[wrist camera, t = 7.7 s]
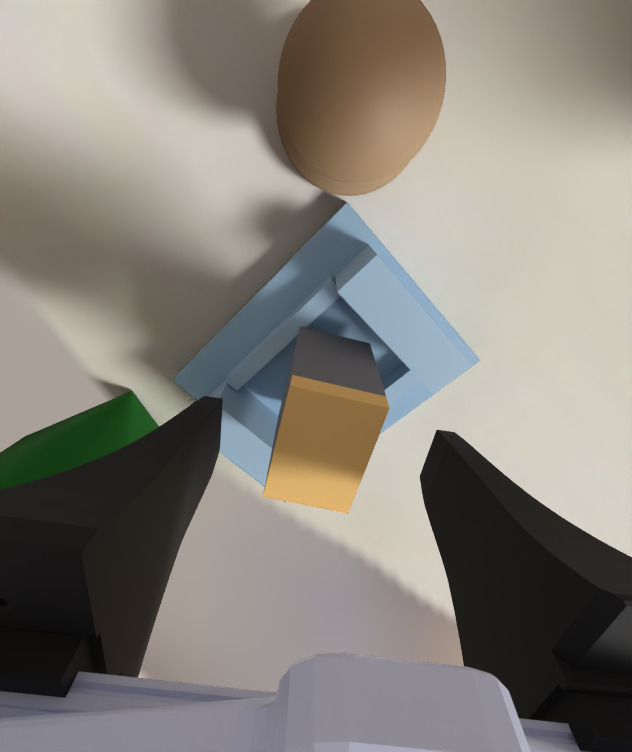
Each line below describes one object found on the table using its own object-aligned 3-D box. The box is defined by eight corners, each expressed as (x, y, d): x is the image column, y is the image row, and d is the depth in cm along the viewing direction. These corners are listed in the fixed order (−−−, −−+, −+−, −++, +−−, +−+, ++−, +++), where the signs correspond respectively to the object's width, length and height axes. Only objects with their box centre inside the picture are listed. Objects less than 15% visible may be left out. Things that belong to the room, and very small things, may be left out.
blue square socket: (474, 353, 18) (505, 387, 15) (307, 477, 21) (304, 525, 18) (346, 201, 15) (352, 205, 12) (178, 373, 19) (150, 409, 15)
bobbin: (452, 117, 14) (501, 92, 10) (345, 224, 15) (352, 236, 12) (357, -23, 12) (373, -117, 8) (249, 114, 14) (222, 86, 10)
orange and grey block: (370, 343, 16) (389, 408, 11) (341, 428, 18) (348, 513, 13) (299, 326, 16) (290, 385, 11) (278, 414, 18) (262, 496, 13)
